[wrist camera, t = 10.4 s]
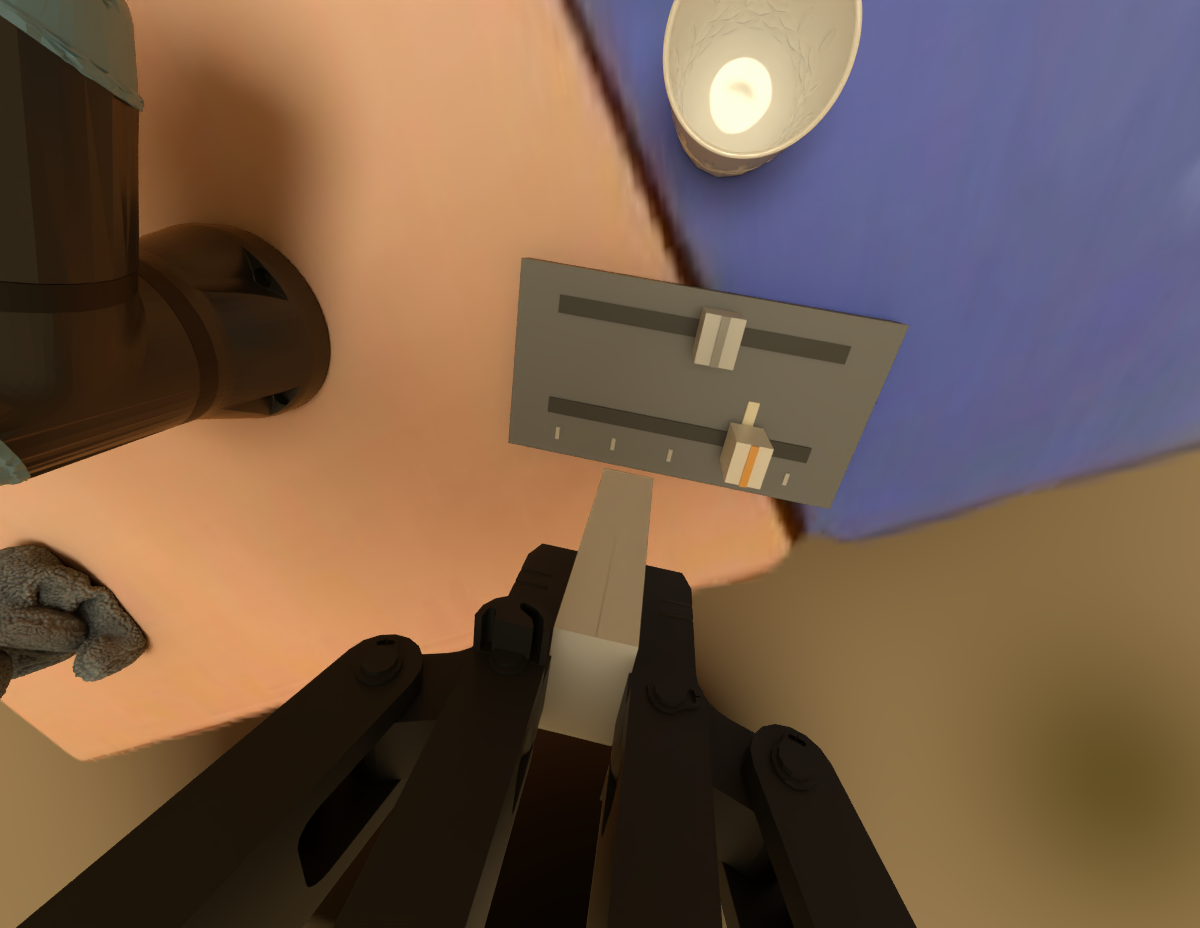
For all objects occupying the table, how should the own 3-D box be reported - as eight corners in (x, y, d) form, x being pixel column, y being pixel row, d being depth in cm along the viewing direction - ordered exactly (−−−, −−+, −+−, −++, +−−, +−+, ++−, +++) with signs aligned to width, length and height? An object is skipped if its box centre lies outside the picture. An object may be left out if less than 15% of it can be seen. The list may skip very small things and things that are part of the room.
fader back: (719, 458, 35) (724, 483, 31) (730, 422, 33) (737, 443, 30) (751, 465, 35) (760, 490, 31) (763, 428, 33) (774, 450, 29)
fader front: (692, 351, 32) (694, 363, 28) (702, 306, 30) (706, 313, 27) (726, 357, 32) (733, 371, 28) (738, 312, 30) (747, 320, 27)
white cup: (808, 163, 28) (869, 119, 19) (682, 205, 30) (684, 184, 21) (792, 4, 26) (855, -134, 17) (654, 62, 27) (643, -32, 18)
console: (515, 434, 39) (507, 443, 37) (529, 257, 33) (520, 257, 31) (822, 498, 37) (830, 510, 35) (897, 321, 31) (910, 326, 29)
